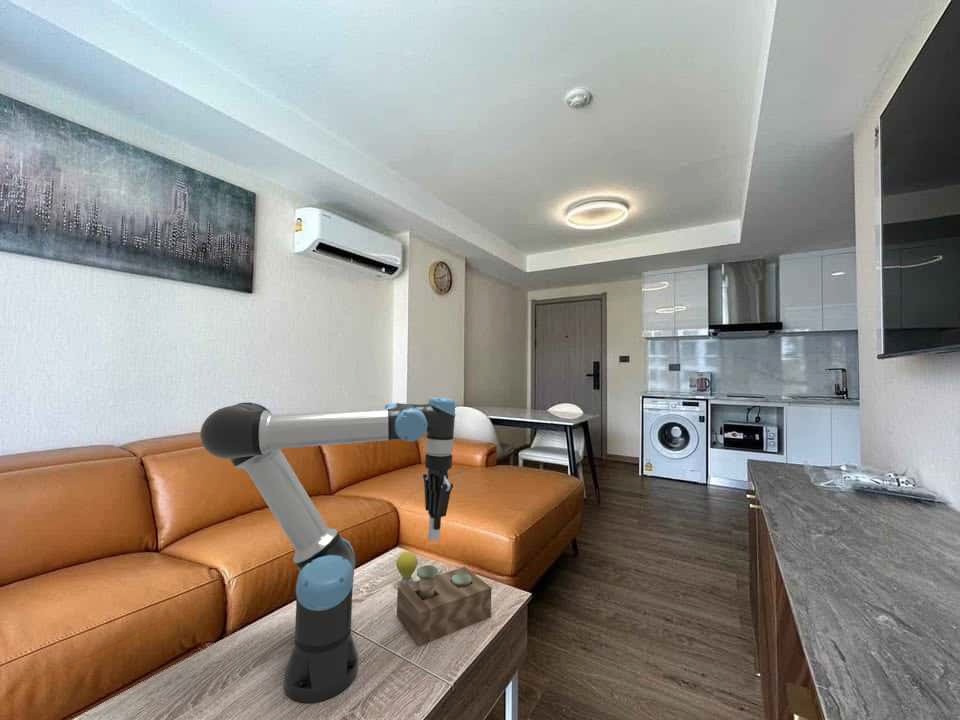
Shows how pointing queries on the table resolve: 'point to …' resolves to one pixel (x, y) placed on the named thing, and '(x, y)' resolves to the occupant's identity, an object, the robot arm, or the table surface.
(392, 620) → the table surface
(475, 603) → the socket block
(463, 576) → the far plunger
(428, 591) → the near plunger
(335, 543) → the robot arm
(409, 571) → the yellow light bulb
